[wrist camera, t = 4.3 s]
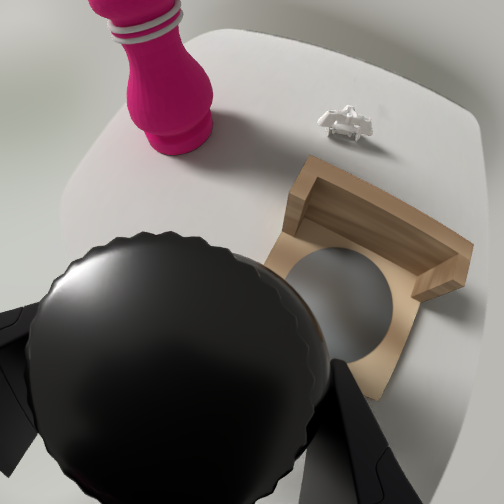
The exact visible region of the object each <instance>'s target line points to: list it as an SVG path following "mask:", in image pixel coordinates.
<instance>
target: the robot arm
mask: <svg viewBox="0 0 504 504" xmlns="http://www.w3.org/2000/svg"><path fill="white" fill-rule="evenodd" d="M38 306H39V302H37V303H34V304H30V305H27V306H24V307H20V308H16V309H13V310H9V311H5V312H2V313H0V471H1V472H2V473H3V474H4V475H5V476H7V477H8V478H9V477H10V476H11V474H12V473H13V471H14V469H15V468H16V466H17V465H18V463H19V462H20V460H21V458H22V457H23V456H24V454H25V452H26V451H27V449H28V448H29V446H30V445H31V443H32V442H33V440H34V439H35V437H36V436H37V433H38V432H37V430H36V429H35V425H34V420H33V414H32V412H31V410H30V408H29V406H28V404H27V387H26V384H25V380H24V376H23V375H24V370H25V365H26V359H25V347H26V344H27V342H28V340H29V334H30V333H29V330H30V324H31V322H32V321H33V319H34V318H35V316H36V315H37V311H38ZM330 370H331V383H330V394H329V400H328V405H327V408H326V412H325V415H324V418H323V420H322V423H321V425H320V427H319V429H318V431H317V433H316V435H315V437H314V439H313V440H312V442H311V443H310V444H309V446H308V447H307V452H306V459H305V466H304V473H303V479H302V486H301V492H300V498H299V504H423V503H422V501H421V500H420V498H419V497H418V495H417V494H416V492H415V490H414V489H413V487H412V486H411V484H410V483H409V481H408V479H407V478H406V476H405V474H404V473H403V471H402V469H401V467H400V466H399V464H398V462H397V460H396V458H395V456H394V454H393V452H392V450H391V448H390V447H388V446H389V444H388V442H387V440H386V438H385V436H384V434H383V432H382V430H381V428H380V426H379V424H378V423H377V421H376V419H375V417H374V415H373V413H372V411H371V409H370V407H369V405H368V403H367V401H366V399H365V397H364V395H363V393H362V391H361V390H360V388H359V386H358V384H357V382H356V380H355V378H354V376H353V374H352V372H351V371H350V369H349V367H348V365H347V363H346V362H345V361H344V360H340V359H337V358H333V359H331V361H330Z"/></svg>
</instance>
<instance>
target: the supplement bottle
mask: <svg viewBox="0 0 504 504" xmlns="http://www.w3.org/2000/svg"><path fill="white" fill-rule="evenodd" d="M29 333H30V334H29V340H28V342H27V344H26V347H25V359H26V365H25V370H24V375H23V376H24V380H25V384H26V387H27V404H28V406H29V408H30V410H31V412H32V414H33V420H34V425H35V429H36V430H37V432H38V433H39V434H40V436H41V437H42V439H43V441H44V444H45V447H46V450H47V452H48V453H49V454H50V455H51V456H52V457H53V458H54V459H55V460H56V461H57V462H58V464H59V466H60V468H61V470H62V472H63V473H64V475H66V476H67V477H68V478H70V479H71V480H73V481H74V482H76V484H77V485H78V486H79V488H80V489H81V490H82V491H83V492H84V494H86V495H88V496H90V497H92V498H95V499H97V500H98V501H99V502H100V503H101V504H255V502H256V501H257V500H258V499H260V498H263V497H266V496H268V495H270V494H272V493H273V492H274V490H275V488H276V486H277V483H278V481H279V480H280V479H282V478H283V477H285V476H286V475H287V474H289V473H290V472H291V471H292V470H293V466H294V462H295V461H296V460H297V459H298V458H299V457H300V456H301V455H302V454H303V452H304V451H305V450H306V449H307V447H308V446H309V444H310V443H311V442H312V440H313V439H314V437H315V435H316V433H317V431H318V429H319V427H320V425H321V423H322V420H323V418H324V415H325V412H326V408H327V405H328V400H329V394H330V383H331V370H330V360H329V353H328V349H327V345H326V341H325V338H324V335H323V333H322V330H321V328H320V325H319V323H318V321H317V319H316V317H315V316H314V314H313V312H312V311H311V309H310V307H309V306H308V305H307V303H306V302H305V301H304V299H303V298H302V297H301V295H300V294H299V293H298V292H297V291H296V290H295V289H294V288H293V287H292V286H291V285H290V284H289V283H288V282H287V281H285V280H284V279H283V278H282V277H281V276H279V275H278V274H277V273H275V272H274V271H272V270H271V269H269V268H267V267H266V266H264V265H262V264H261V263H259V262H256V261H254V260H252V259H250V258H247V257H245V256H242V255H239V254H235V253H232V252H231V251H230V250H229V249H228V248H223V247H215V246H210V245H209V244H208V242H207V241H205V240H204V239H203V238H201V237H182V236H180V235H179V234H177V233H175V232H172V231H169V232H164V233H162V234H158V235H155V234H152V233H148V232H141V233H138V234H136V235H135V236H133V237H131V238H126V237H116V238H115V239H113V240H112V241H110V242H109V243H108V244H107V245H105V246H97V247H93V248H92V249H91V250H90V251H89V252H88V253H87V254H86V255H85V256H84V257H83V258H80V259H77V260H75V261H73V262H71V263H70V265H69V266H68V268H67V270H66V271H65V273H64V274H62V275H61V276H59V277H57V278H56V279H55V280H54V281H53V283H52V285H51V288H50V290H49V292H48V294H46V295H45V296H44V297H43V298H42V300H41V301H40V302H39V306H38V311H37V315H36V316H35V318H34V319H33V321H32V322H31V324H30V330H29Z"/></svg>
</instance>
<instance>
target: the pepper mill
mask: <svg viewBox="0 0 504 504" xmlns="http://www.w3.org/2000/svg"><path fill="white" fill-rule="evenodd" d="M88 1H89V4H90V6H91V8H92V9H93V11H94V12H95V13H97V14H98V15H100V16H102V17H104V18H107V19H109V20H108V22H107V27H108V29H109V30H110V31H111V38H112V39H113V40H114V41H115V42H117V43H120V44H122V46H123V48H124V49H125V51H126V53H127V56H128V60H129V65H130V75H129V80H128V87H127V107H128V110H129V113H130V116H131V119H132V121H133V122H134V123H135V125H136V126H137V127H138V128H140V129H141V130H143V131H144V132H145V134H146V137H147V139H148V141H149V143H150V145H151V146H152V147H153V148H154V149H155V150H156V151H158V152H160V153H163V154H167V155H179V154H184V153H188V152H190V151H192V150H194V149H196V148H198V147H199V146H200V145H201V144H203V143H204V142H205V141H206V140H207V138H208V137H209V135H210V133H211V131H212V126H213V121H212V116H211V111H210V107H211V104H212V100H213V90H212V86H211V83H210V80H209V77H208V76H207V74H206V72H205V71H204V69H203V68H202V67H201V66H200V65H199V63H198V62H197V61H196V60H195V59H194V58H193V57H192V56H191V55H190V54H189V53H188V52H187V51H186V49H185V48H184V46H183V44H182V42H181V38H180V35H179V27H178V24H179V23H180V22H181V20H182V17H183V11H182V10H181V8H180V7H181V1H180V0H88Z"/></svg>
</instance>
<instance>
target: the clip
mask: <svg viewBox="0 0 504 504" xmlns="http://www.w3.org/2000/svg"><path fill="white" fill-rule="evenodd" d="M335 121H336V122H335ZM334 122H335V123H334ZM318 124H319V125H320V126H323V127H326V128H325V132H327V136H328V135H329V131H330V128H333V129H332V133H333V134H335V133H339V134H344V135H348V136H349V137H351V136H352V133H353V132H354V133H356V135H355V141H358V139H359V138H360V136H361V134H363V135H368V136H371V135H372V134H373V131H372V124H371V119H370V118H367V117H364V116H362V115H358V114H357V113H355V109H354V106H350V105H347V106H346V107H345V108H344V109H343V110H341V111H334V110H328V111H327V112H326V113H325V114H324V115H323V116H322V117H321V118H320V119H319V120H318ZM354 125H359V126H360V127H357V128H355V127H354Z"/></svg>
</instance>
